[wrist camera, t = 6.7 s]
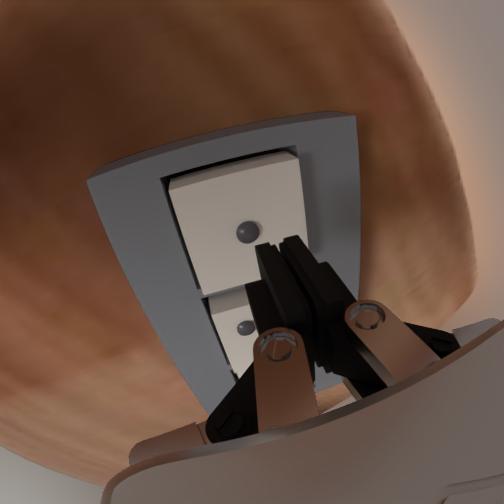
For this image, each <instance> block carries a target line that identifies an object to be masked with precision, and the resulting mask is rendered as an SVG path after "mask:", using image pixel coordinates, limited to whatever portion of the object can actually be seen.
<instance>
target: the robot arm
mask: <svg viewBox="0 0 504 504" xmlns="http://www.w3.org/2000/svg"><path fill="white" fill-rule="evenodd" d="M279 249H280V252H279V250H278V248H277V246H276V245H275V244H274V245H270V243H269V242H267V243H263V244H259V245H255V252H256V257H257V262H258V267H259V272H260V276H261V280H257V281H254V282H250V283H246V284H244V285H245V289H246V293H247V297H248V301H249V305H250V309H251V312H252V316H253V319H254V322H255V326H256V329H257V332H258V337H257V339H256V340H255V342H254V344H253V360H254V361H253V362H252V363H251V365H250V366H249V367H248V368H247V370H246V371H245V372H244V374H243V375H242V376H241V377H240V379H239V380H238V381H237V382H236V384H235V385H234V386H233V387H232V389H231V390H230V391H229V392H228V394H227V395H226V396H225V397H224V399H223V400H222V401H221V402H220V403H219V405H218V406H217V407H216V408H215V409H214V411H213V412H212V413H211V414H210V416H209V418H208V419H207V421H204V422H202V423H199V424H196V422H194V423H191V424H189V425H186V426H184V427H181V428H178V429H176V430H173V431H170V432H167V433H164V434H162V435H159V436H156V437H153V438H150V439H147V440H143V441H141V442H139V443H137V444H136V445H135V446H134V447H133V448H132V449H131V451H130V454H129V464H130V467H128V468H126V469H124V470H122V471H121V472H119V473H118V474H116V475H115V476H114V477H113V478H112V479H111V480H110V481H109V482H108V483H107V485H106V487H105V489H104V491H103V495H102V499H101V504H504V320H502V321H500V320H498V319H494V318H491V319H486V320H483V321H480V322H477V323H474V324H471V325H467V326H464V327H461V328H457V329H454V330H452V331H451V333H448V332H445V331H442V330H437V329H433V328H428V327H423V326H419V325H414V324H410V323H405V322H402V321H401V320H400V319H399V318H398V317H397V316H396V315H395V314H393V313H392V312H391V311H390V310H389V309H388V308H387V307H386V306H385V305H383V304H382V303H380V302H377V301H374V300H360V301H357V300H356V299H355V297H354V296H353V295H352V293H351V292H350V291H349V289H348V288H347V287H346V285H345V284H344V283H343V281H342V280H341V279H340V277H339V276H338V275H337V273H336V272H335V271H334V269H333V268H332V267H331V265H330V264H329V263H328V262H326V261H325V262H321V263H318V261H317V260H316V259H315V257H314V256H313V254H312V253H311V252H310V250H309V249H308V248H307V246H306V245H305V244H304V242H303V241H302V239H301V238H300V237H299V235H293V236H289V237H286V238H283V242H281V243H279ZM315 363H316V365H317V367H318V368H320V367H323V368H324V370H325V372H326V374H328V373H331V372H333V374H336V375H340V376H341V379H342V381H343V383H344V384H345V386H346V387H347V389H348V390H349V391H350V393H351V394H352V395H353V397H354V398H355V399H356V402H353V403H351V404H348V405H346V406H343V407H340V408H338V409H335V410H332V411H330V412H327V413H324V414H321V415H320V414H319V410H318V405H317V400H316V396H315V391H314V387H313V383H314V381H315Z"/></svg>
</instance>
